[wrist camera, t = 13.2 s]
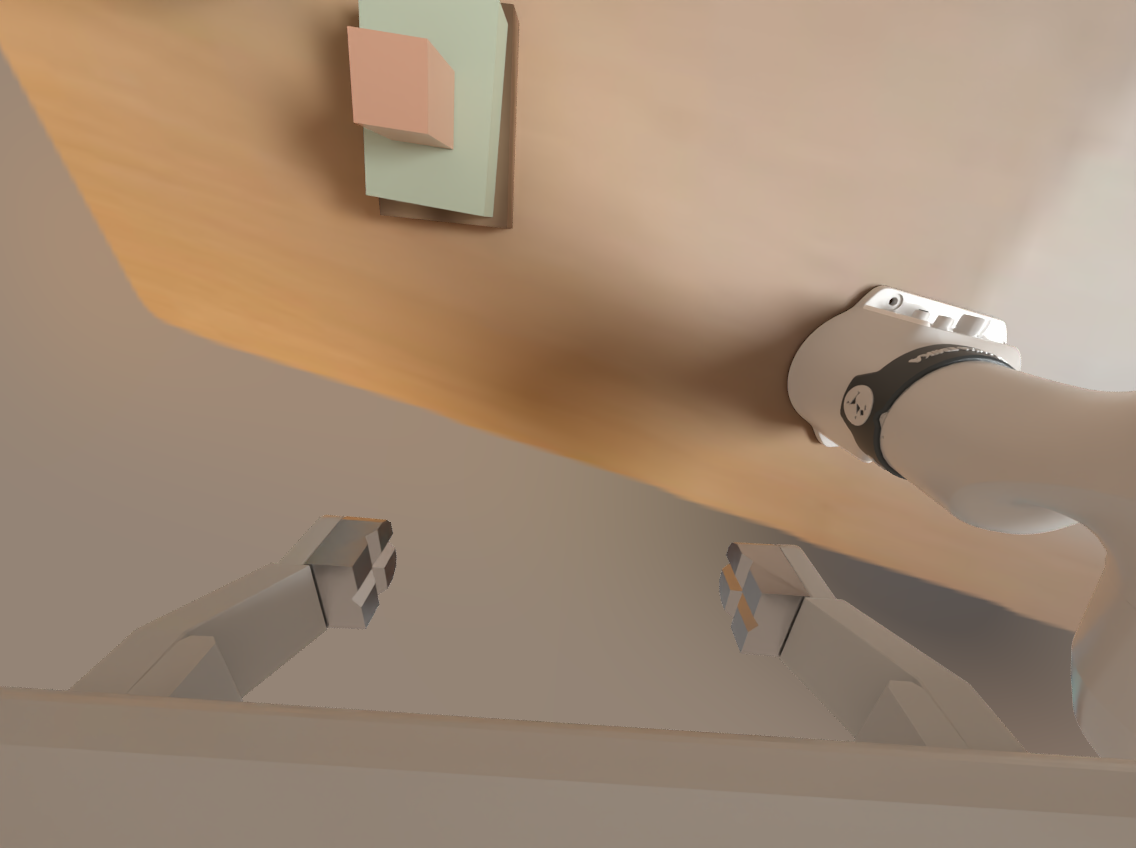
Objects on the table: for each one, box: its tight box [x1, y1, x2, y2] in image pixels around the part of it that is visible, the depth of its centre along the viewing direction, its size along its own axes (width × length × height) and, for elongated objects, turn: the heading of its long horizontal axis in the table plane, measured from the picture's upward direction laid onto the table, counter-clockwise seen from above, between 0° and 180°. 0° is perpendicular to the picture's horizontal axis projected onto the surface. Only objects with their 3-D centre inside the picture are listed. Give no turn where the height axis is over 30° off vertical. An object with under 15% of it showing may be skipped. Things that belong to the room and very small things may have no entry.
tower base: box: [379, 3, 519, 228], centre depth 38 cm, size 12×16×4 cm
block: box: [347, 26, 455, 150], centre depth 30 cm, size 5×5×6 cm
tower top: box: [358, 0, 508, 217], centre depth 34 cm, size 10×14×4 cm
